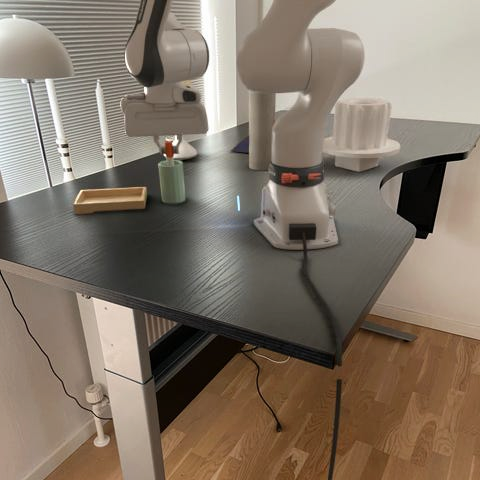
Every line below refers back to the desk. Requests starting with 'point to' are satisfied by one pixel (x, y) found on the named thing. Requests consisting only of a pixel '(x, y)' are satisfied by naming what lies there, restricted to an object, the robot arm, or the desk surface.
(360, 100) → the flanged gear
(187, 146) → the flower in vase
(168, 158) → the marker
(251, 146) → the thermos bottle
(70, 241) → the desk surface
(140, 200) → the tray
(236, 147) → the blue flat triangle
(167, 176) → the pen cup
